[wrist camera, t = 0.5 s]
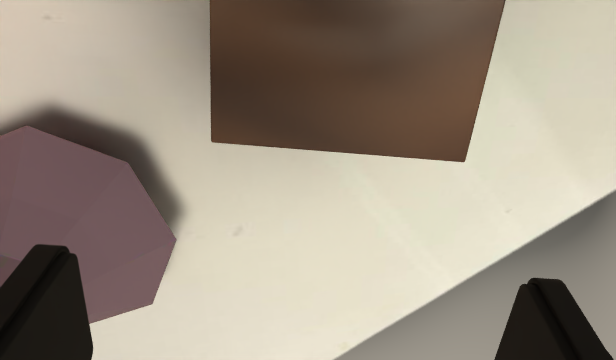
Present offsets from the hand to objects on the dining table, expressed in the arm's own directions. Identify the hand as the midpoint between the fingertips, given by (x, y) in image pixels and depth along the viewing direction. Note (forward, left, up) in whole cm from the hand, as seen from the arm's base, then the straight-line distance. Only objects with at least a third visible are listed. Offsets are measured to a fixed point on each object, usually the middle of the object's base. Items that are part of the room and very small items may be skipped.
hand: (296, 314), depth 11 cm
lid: (-4, +2, -16) cm, 17 cm away
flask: (+14, -16, -25) cm, 33 cm away
